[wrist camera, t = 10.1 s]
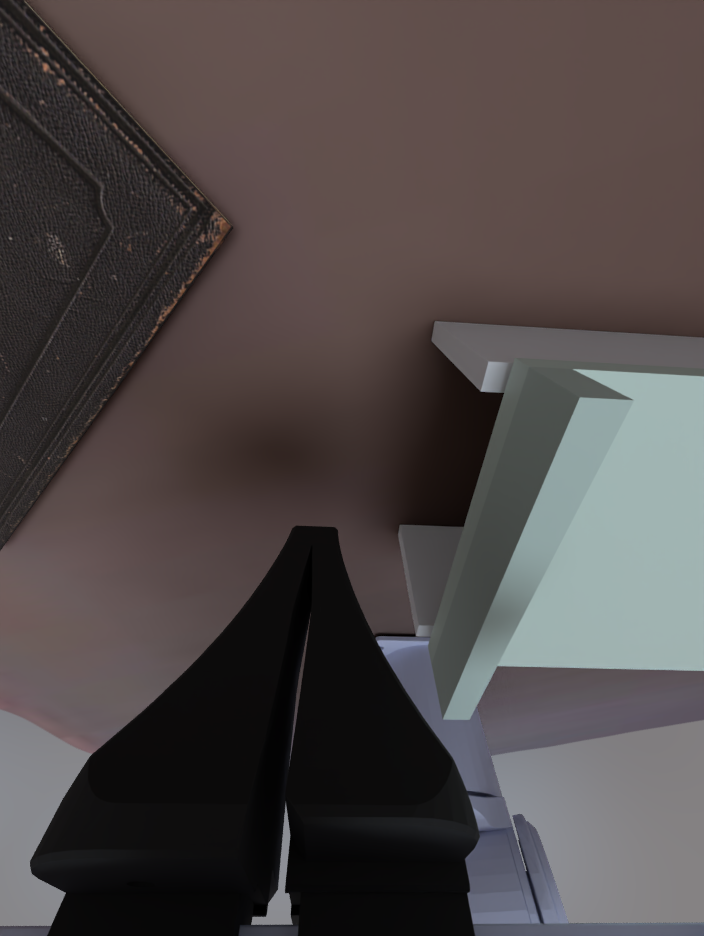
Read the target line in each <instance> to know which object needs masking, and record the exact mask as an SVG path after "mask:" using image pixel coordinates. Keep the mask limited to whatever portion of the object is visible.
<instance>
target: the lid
mask: <svg viewBox="0 0 704 936" xmlns="http://www.w3.org/2000/svg"><path fill="white" fill-rule="evenodd" d="M428 650H429V654H430V659H431V664H432V669H433V674H434V679H435V684H436V689H437V694H438V699H439V704H440V709H441V714H442V719H444V720H470V718H471V716H472V714H473V712H474V710H475V708H476V706H477V704H478V702H479V700H480V698H481V697H482V695H483V693H484V691H485V689H486V687H487V685H488V683H489V681H490V679H491V677H492V675H493V673H494V671H495V669H496V667H497V666H521V667H564V668H606V669H649V670H692V671H704V369H701V368H684V367H667V366H649V365H632V364H615V363H597V362H580V361H563V360H546V359H528V358H515V359H514V362H513V366H512V369H511V372H510V375H509V379H508V382H507V385H506V389H505V392H504V395H503V399H502V402H501V405H500V409H499V412H498V415H497V418H496V422H495V425H494V428H493V432H492V435H491V438H490V442H489V445H488V448H487V452H486V455H485V458H484V461H483V465H482V468H481V471H480V475H479V478H478V481H477V485H476V488H475V491H474V495H473V498H472V501H471V504H470V508H469V511H468V514H467V518H466V521H465V524H464V528H463V531H462V534H461V538H460V541H459V544H458V547H457V551H456V554H455V557H454V561H453V564H452V567H451V571H450V574H449V577H448V581H447V584H446V587H445V590H444V594H443V597H442V600H441V604H440V607H439V610H438V614H437V617H436V620H435V624H434V627H433V630H432V633H431V637H430V640H429V643H428Z"/></svg>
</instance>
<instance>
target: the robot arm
mask: <svg viewBox="0 0 704 936" xmlns="http://www.w3.org/2000/svg"><path fill="white" fill-rule="evenodd" d="M310 614H311V617H310ZM309 619H310V625H309V633H308V641H307V649H306V656H305V663H304V671H303V678H302V685H301V692H300V699H299V706H298V713H297V720H296V727H295V733H294V740H293V746H292V753H291V759H290V751H291V741H292V731H293V721H294V712H295V702H296V693H297V685H298V679H299V672H300V667H301V662H302V656H303V651H304V646H305V640H306V635H307V630H308V624H309ZM429 640H430V637H398V636H378V637H376V638H375V637H374V635H373V633H372V631H371V629H370V627H369V625H368V623H367V621H366V619H365V617H364V614H363V612H362V610H361V608H360V605H359V603H358V601H357V598H356V596H355V593H354V591H353V588H352V586H351V583H350V580H349V577H348V574H347V571H346V568H345V565H344V562H343V558H342V554H341V550H340V545H339V539H338V530H337V529H336V528H335V527H316V526H295V527H294V528H292V531H291V533H290V535H289V537H288V539H287V541H286V543H285V545H284V547H283V548H282V550H281V552H280V554H279V555H278V557H277V559H276V560H275V562H274V563H273V565H272V567H271V568H270V570H269V571H268V573H267V574H266V576H265V577H264V579H263V580H262V582H261V583H260V585H259V586H258V587H257V589H256V590H255V591H254V593H253V594H252V596H251V597H250V598H249V600H248V601H247V602H246V604H245V605H244V606H243V608H242V609H241V610H240V611H239V613H238V614H237V615H236V616H235V618H234V619H233V620H232V621H231V622H230V624H229V625H228V626H227V627H226V628H225V629H224V631H223V632H222V633H221V634H220V635H219V636H218V637H217V638H216V640H215V641H214V642H213V643H212V644H211V645H210V646H209V647H208V648H207V649H206V650H205V651H204V653H203V654H202V655H201V656H200V657H199V658H198V659H197V660H196V661H195V662H194V663H193V664H192V665H191V666H190V667H189V668H188V669H187V670H186V671H185V672H184V673H183V674H182V675H181V676H180V677H179V678H178V679H177V680H176V681H175V682H173V683H172V684H171V685H170V686H169V687H168V688H167V689H166V690H165V691H164V692H163V693H162V694H161V695H160V696H159V697H158V698H157V699H156V700H155V701H154V702H152V703H151V704H150V705H149V706H148V707H147V708H146V709H145V710H144V711H142V712H141V713H140V714H139V715H138V716H137V717H135V718H134V719H133V720H132V721H131V722H130V723H128V724H127V725H126V726H125V727H124V728H123V729H121V730H120V731H119V732H118V733H117V734H116V735H114V736H113V737H112V738H111V739H110V740H109V741H107V742H106V743H105V744H104V745H103V746H101V747H100V748H99V749H98V750H97V751H96V752H94V753H93V754H92V755H91V756H90V757H89V759H88V760H87V762H86V763H85V765H84V767H83V768H82V770H81V771H80V773H79V774H78V776H77V777H76V779H75V781H74V782H73V784H72V785H71V787H70V789H69V790H68V792H67V793H66V795H65V797H64V798H63V800H62V802H61V804H60V806H59V808H58V809H57V811H56V813H55V815H54V817H53V819H52V821H51V823H50V825H49V827H48V829H47V830H46V832H45V834H44V836H43V838H42V840H41V842H40V844H39V846H38V847H37V849H36V851H35V853H34V855H33V857H32V859H31V861H30V867H31V872H32V874H33V875H34V876H36V877H37V878H38V879H40V880H42V881H44V882H46V883H48V884H50V885H52V886H54V887H56V888H58V889H60V890H62V891H64V892H66V894H65V897H64V899H63V901H62V903H61V906H60V908H59V910H58V912H57V914H56V917H55V919H54V921H53V923H52V926H0V936H704V923H568V919H567V916H566V913H565V910H564V907H563V904H562V901H561V898H560V895H559V892H558V889H557V886H556V883H555V880H554V877H553V874H552V871H551V868H550V865H549V862H548V859H547V857H546V854H545V851H544V848H543V845H542V842H541V840H540V837H539V835H538V832H537V830H536V829H535V827H533V826H532V825H531V824H530V823H529V822H528V821H526V820H525V818H524V816H523V815H522V814H518V815H513V819H514V823H515V827H516V830H517V833H518V837H519V845H520V848H521V852H522V856H523V859H524V863H525V866H526V870H527V871H525V869H524V865H523V861H522V858H521V855H520V851H519V847H518V844H517V840H516V837H515V834H514V830H513V827H512V823H511V820H510V816H509V813H508V810H507V806H506V802H505V799H504V797H502V794H501V790H500V787H499V783H498V779H497V776H496V772H495V769H494V765H493V762H492V758H491V755H490V751H489V748H488V744H487V741H486V737H485V734H484V730H483V727H482V723H481V720H480V716H479V713H478V709H477V706H476V708H475V710H474V712H473V714H472V716H471V718H470V720H444V719H442V714H441V709H440V704H439V699H438V694H437V689H436V684H435V679H434V674H433V669H432V664H431V659H430V654H429V650H428V643H429ZM289 761H290V766H289ZM285 803H286V806H287V813H288V820H289V828H290V835H291V836H290V846H289V856H288V865H287V875H286V886H285V893H289V894H290V900H291V919H292V923H293V925H251V922H252V917H261V916H262V917H266V914H267V907H268V903H269V901H270V900H271V898H272V897H273V896H274V894H275V893H276V891H277V890H278V880H279V870H280V858H281V847H282V835H283V824H284V813H285Z"/></svg>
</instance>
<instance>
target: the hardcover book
mask: <svg viewBox="0 0 704 936" xmlns="http://www.w3.org/2000/svg"><path fill="white" fill-rule="evenodd" d="M232 229H233V226H232V225H231V224H230V222H229V221H228V220H227V219H226V218H225V217H224V216H223V215H222V214H221V213H220V212H219V210H218V209H217V208H216V207H215V206H214V205H213V204H212V203H211V202H210V201H209V200H208V199H207V197H206V196H205V195H204V194H203V193H202V192H201V191H200V190H199V189H198V188H197V187H196V186H195V184H194V183H193V182H192V181H191V180H190V179H189V178H188V177H187V176H186V175H185V174H184V173H183V171H182V170H181V169H180V168H179V167H178V166H177V165H176V164H175V163H174V162H173V161H172V160H171V158H170V157H169V156H168V155H167V154H166V153H165V152H164V151H163V150H162V149H161V148H160V147H159V145H158V144H157V143H156V142H155V141H154V140H153V139H152V138H151V137H150V136H149V135H148V134H147V132H146V131H145V130H144V129H143V128H142V127H141V126H140V125H139V124H138V123H137V122H136V121H135V119H134V118H133V117H132V116H131V115H130V114H129V113H128V112H127V111H126V110H125V109H124V108H123V106H122V105H121V104H120V103H119V102H118V101H117V100H116V99H115V98H114V97H113V96H112V95H111V93H110V92H109V91H108V90H107V89H106V88H105V87H104V86H103V85H102V84H101V83H100V82H99V80H98V79H97V78H96V77H95V76H94V75H93V74H92V73H91V72H90V71H89V70H88V69H87V67H86V66H85V65H84V64H83V63H82V62H81V61H80V60H79V59H78V58H77V57H76V56H75V54H74V53H73V52H72V51H71V50H70V49H69V48H68V47H67V46H66V45H65V44H64V43H63V41H62V40H61V39H60V38H59V37H58V36H57V35H56V34H55V33H54V32H53V31H52V30H51V28H50V27H49V26H48V25H47V24H46V23H45V22H44V21H43V20H42V19H41V18H40V17H39V15H38V14H37V13H36V12H35V11H34V10H33V9H32V8H31V7H30V6H29V5H28V4H27V2H26V1H25V0H0V550H1V549H2V548H3V546H4V545H5V543H6V542H7V541H8V539H9V538H10V536H11V535H12V534H13V532H14V531H15V530H16V528H17V527H18V525H19V524H20V523H21V521H22V520H23V518H24V517H25V516H26V514H27V513H28V511H29V510H30V509H31V507H32V506H33V505H34V503H35V502H36V500H37V499H38V498H39V496H40V495H41V493H42V492H43V491H44V489H45V488H46V487H47V485H48V484H49V482H50V481H51V480H52V478H53V477H54V475H55V474H56V473H57V471H58V470H59V468H60V467H61V466H62V464H63V463H64V462H65V460H66V459H67V457H68V456H69V455H70V453H71V452H72V450H73V449H74V448H75V446H76V445H77V444H78V442H79V441H80V439H81V438H82V437H83V435H84V434H85V432H86V431H87V430H88V428H89V427H90V425H91V424H92V423H93V421H94V420H95V419H96V417H97V416H98V414H99V413H100V412H101V410H102V409H103V407H104V406H105V405H106V403H107V402H108V401H109V399H110V398H111V396H112V395H113V394H114V392H115V391H116V389H117V388H118V387H119V385H120V384H121V382H122V381H123V380H124V378H125V377H126V376H127V374H128V373H129V371H130V370H131V369H132V367H133V366H134V364H135V363H136V362H137V360H138V359H139V358H140V356H141V355H142V353H143V352H144V351H145V349H146V348H147V346H148V345H149V344H150V342H151V341H152V339H153V338H154V337H155V335H156V334H157V333H158V331H159V330H160V328H161V327H162V326H163V324H164V323H165V321H166V320H167V319H168V317H169V316H170V315H171V313H172V312H173V310H174V309H175V308H176V306H177V305H178V303H179V302H180V301H181V299H182V298H183V296H184V295H185V294H186V292H187V291H188V290H189V288H190V287H191V285H192V284H193V283H194V281H195V280H196V278H197V277H198V276H199V274H200V273H201V272H202V270H203V269H204V267H205V266H206V265H207V263H208V262H209V260H210V259H211V258H212V256H213V255H214V253H215V252H216V251H217V249H218V248H219V247H220V245H221V244H222V242H223V241H224V240H225V238H226V237H227V235H228V234H229V233H230V231H231V230H232Z"/></svg>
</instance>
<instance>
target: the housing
mask: <svg viewBox="0 0 704 936" xmlns="http://www.w3.org/2000/svg"><path fill="white" fill-rule="evenodd" d="M431 341H432V342H433V343H434V344H435V345H436V346H437V347H438V348H439V349H440V350H441V351H442V352H443V353H444V355H445V356H446V357H447V358H448V359H449V360H450V361H451V362H452V363H453V364H454V365H455V366H456V367H457V368H458V369H459V370H460V371H461V372H462V373H463V374H464V375H465V376H466V377H467V378H468V379H469V380H470V381H471V382H472V383H473V384H474V385H475V386H476V387H477V388H478V389H479V390H480V391H481V392H497V393H504V392H505V389H506V385H507V382H508V379H509V375H510V372H511V369H512V366H513V362H514V359H515V358H528V359H546V360H563V361H580V362H597V363H615V364H632V365H649V366H667V367H684V368H701V369H704V338H703V337H687V336H670V335H654V334H638V333H622V332H605V331H589V330H573V329H556V328H540V327H524V326H507V325H491V324H475V323H458V322H442V321H435V322H434V328H433V334H432V340H431ZM463 528H464V527H450V526H424V525H400V526H399V532H398V538H399V543H400V549H401V554H402V560H403V566H404V571H405V577H406V583H407V588H408V594H409V600H410V605H411V611H412V617H413V622H414V628H415V634H416V636H420V637H431V633H432V630H433V627H434V624H435V620H436V617H437V614H438V610H439V607H440V604H441V600H442V597H443V594H444V590H445V587H446V584H447V581H448V577H449V574H450V571H451V567H452V564H453V561H454V557H455V554H456V551H457V547H458V544H459V541H460V538H461V534H462V531H463Z"/></svg>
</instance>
